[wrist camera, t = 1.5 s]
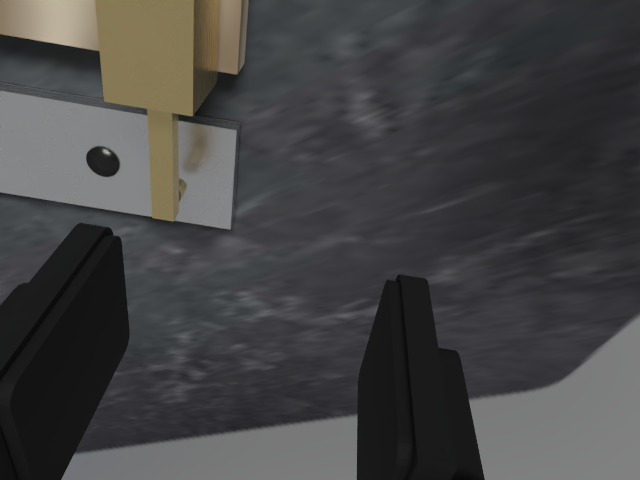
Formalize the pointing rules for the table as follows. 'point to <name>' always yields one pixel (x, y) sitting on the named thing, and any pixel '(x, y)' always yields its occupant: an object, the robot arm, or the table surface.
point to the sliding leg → (160, 75)
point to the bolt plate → (111, 155)
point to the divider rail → (81, 29)
